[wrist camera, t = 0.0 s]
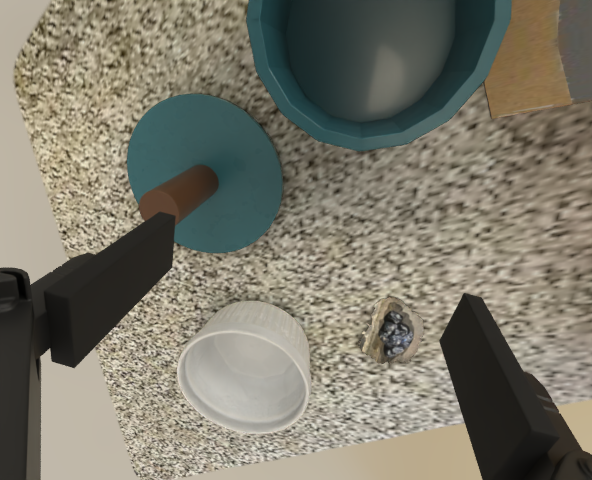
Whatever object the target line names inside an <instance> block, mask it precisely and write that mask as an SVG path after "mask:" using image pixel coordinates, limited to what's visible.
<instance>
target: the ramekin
mask: <svg viewBox="0 0 592 480" xmlns="http://www.w3.org/2000/svg"><path fill="white" fill-rule="evenodd" d="M177 379H178V384H179V386H180V389H181V391H182V393H183V395H184V397H185V398H186V400H187V401H188V402H189V404H190V405H191V406H192V407H193V408H194V409H195V410H196V411H197V412H198V413H200V414H201V415H202V416H203V417H205V418H206V419H208V420H209V421H211V422H213V423H215V424H217V425H219V426H221V427H224V428H226V429H229V430H232V431H236V432H240V433H247V434H268V433H273V432H277V431H280V430H283V429H286V428H287V427H289V426H291V425H293V424H294V423H295V422H297V421H298V420H299V419H300V417H301V416H302V415H303V413H304V412H305V410H306V408H307V406H308V402H309V399H310V394H311V384H312V383H311V375H310V350H309V343H308V341H307V337H306V335H305V333H304V331H303V329H302V328H301V326H300V324H298V322H297V321H296V320H295V319H294V318H293V317H292V316H291V315H290V314H288V313H287V312H286V311H284V310H282V309H280V308H279V307H276V306H274V305H272V304H268V303H265V302H260V301H242V302H236V303H233V304H229V305H228V306H225V307H223V308H222V309H220V310H219V311H218V312H217V313H216V314H215V315H214V316H213V317H212V318H211V319H210V320H209V321H208V322H207V323H206V324H205V325H204V327H203V328H202V329H201V330H200V331H199V332H198V333H196V334H195V335H194V336H193V337H192V338H191V339H190V340H189V341H188V343H187V344H186V346H185V348H184V349H183V351H182V353H181V355H180V357H179V360H178V365H177Z"/></svg>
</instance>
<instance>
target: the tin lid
mask: <svg viewBox="0 0 592 480" xmlns="http://www.w3.org/2000/svg"><path fill="white" fill-rule="evenodd" d="M127 169H128V176H129V182H130V185H131V188H132V191H133V194H134V196H135V198H136V201H137V202H138V204H139V210H140V214H141V216H142V218H143V219H144V221H146V220H148V219H149V218H151V217H152V216H154V215H155V214H157V213H158V212H159V211H160V212H164V213H167V214H171V215H175V216H176V219H175V233H174V241H175V242H176V243H178V244H180V245H183V246H185V247H187V248H190V249H193V250H196V251H201V252H206V253H226V252H232V251H236V250H239V249H242V248H244V247H246V246H248V245H250V244H252V243H253V242H255V241H256V240H258V239H259V238H260V237H261V236H262V235H263V234H264V233H265V232H266V231H267V230H268V228H269V227H270V226H271V224H272V222H273V221H274V219H275V217H276V215H277V213H278V211H279V208H280V204H281V201H282V195H283V174H282V167H281V163H280V160H279V156H278V154H277V151H276V149H275V147H274V145H273V143H272V141H271V139H270V137H269V136H268V135H267V133H266V132H265V130H264V129H263V128H262V127H261V125H260V124H259V123H258V122H257V121H256V120H255V119H254V118H253V117H252V116H251V115H249V114H248V113H247V112H246V111H244V110H243V109H241V108H240V107H238V106H237V105H235V104H233V103H231V102H229V101H227V100H225V99H222V98H219V97H216V96H212V95H206V94H184V95H178V96H174V97H171V98H168V99H166V100H164V101H161V102H159V103H158V104H156V105H155V106H154V107H152V108H151V109H150V110H149V111H148V112H147V113H146V114H145V115H144V116H143V117H142V118H141V120H140V121H139V122H138V124H137V126H136V128H135V129H134V131H133V134H132V136H131V139H130V143H129V147H128V154H127Z"/></svg>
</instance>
